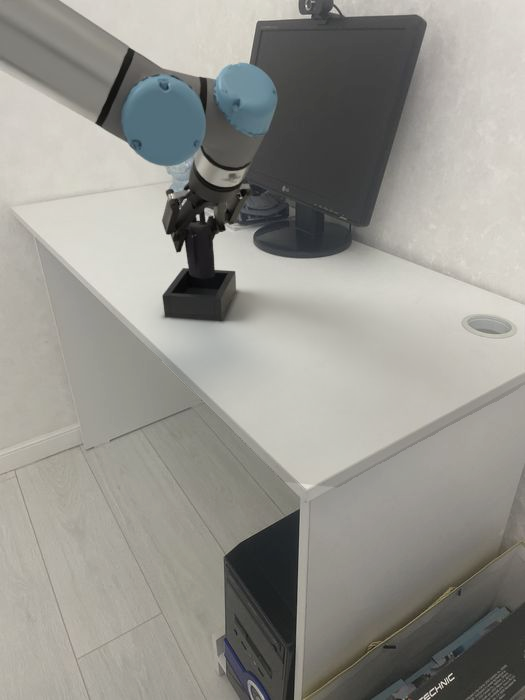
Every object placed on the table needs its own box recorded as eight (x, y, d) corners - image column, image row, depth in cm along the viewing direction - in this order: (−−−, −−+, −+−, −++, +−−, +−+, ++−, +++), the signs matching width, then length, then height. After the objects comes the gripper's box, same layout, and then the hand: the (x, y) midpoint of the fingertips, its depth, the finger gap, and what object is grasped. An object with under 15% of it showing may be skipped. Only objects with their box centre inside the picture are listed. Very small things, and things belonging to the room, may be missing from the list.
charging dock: (164, 317, 92) (162, 295, 90) (184, 288, 102) (182, 267, 100) (221, 321, 91) (220, 299, 88) (236, 291, 101) (235, 270, 99)
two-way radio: (219, 276, 94) (213, 193, 86) (203, 285, 91) (195, 199, 83) (197, 269, 97) (188, 188, 89) (180, 278, 94) (170, 194, 86)
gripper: (165, 198, 69) (148, 270, 90) (285, 182, 75) (242, 253, 96) (150, 149, 70) (136, 232, 91) (268, 137, 76) (230, 217, 98)
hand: (191, 242), depth 94 cm, fingers closed on two-way radio, 5 cm apart
